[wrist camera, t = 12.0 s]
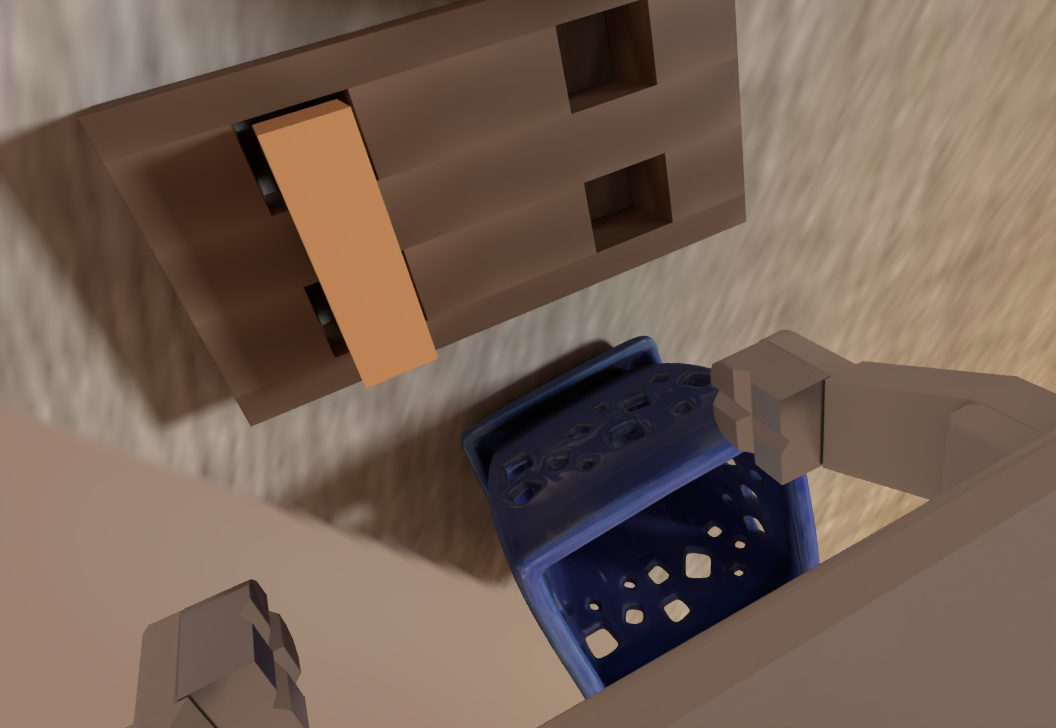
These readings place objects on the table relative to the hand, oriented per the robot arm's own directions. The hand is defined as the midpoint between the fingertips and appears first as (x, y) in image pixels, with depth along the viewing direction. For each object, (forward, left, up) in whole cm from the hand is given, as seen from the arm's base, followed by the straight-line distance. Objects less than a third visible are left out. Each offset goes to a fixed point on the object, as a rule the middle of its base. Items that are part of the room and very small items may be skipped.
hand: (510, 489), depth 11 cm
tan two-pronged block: (0, 0, -20) cm, 20 cm away
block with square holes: (0, +6, -20) cm, 21 cm away
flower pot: (+17, +8, -20) cm, 28 cm away
